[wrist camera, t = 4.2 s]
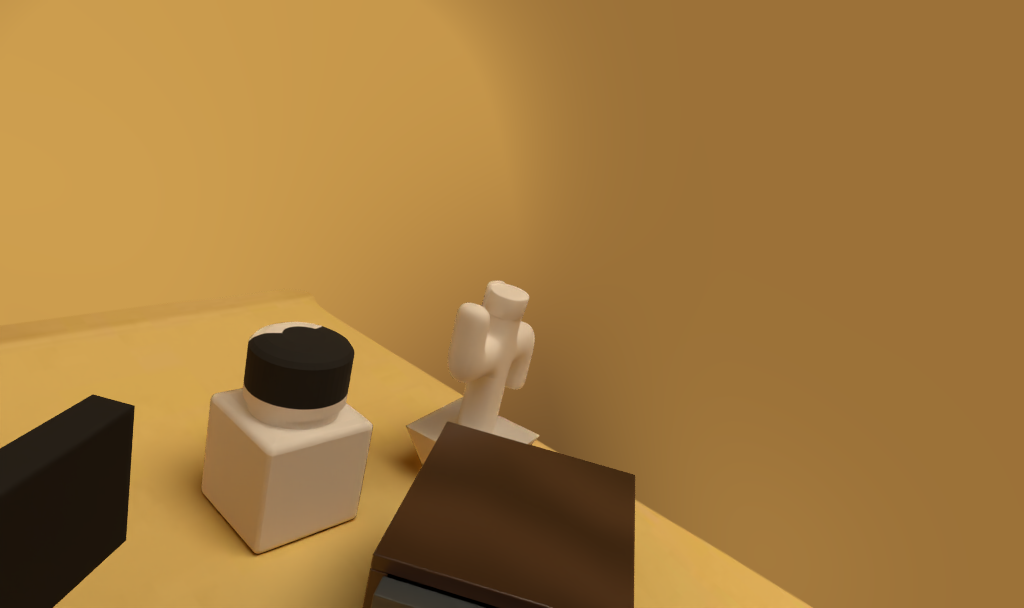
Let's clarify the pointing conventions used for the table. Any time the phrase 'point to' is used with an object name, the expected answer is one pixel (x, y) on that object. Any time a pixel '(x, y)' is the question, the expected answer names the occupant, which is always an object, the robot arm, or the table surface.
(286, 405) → the medicine bottle
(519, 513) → the cabinet
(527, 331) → the figurine
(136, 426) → the table surface
